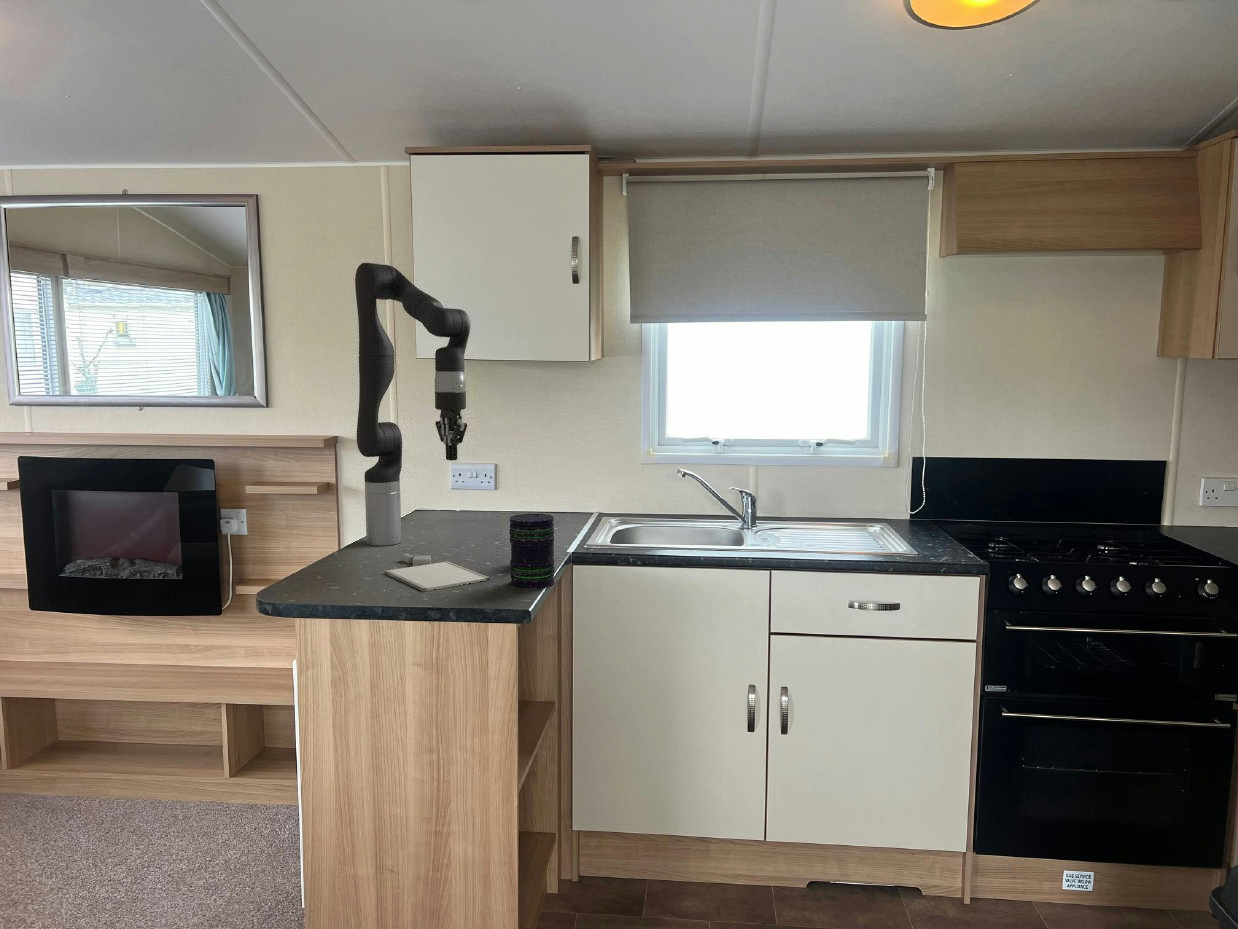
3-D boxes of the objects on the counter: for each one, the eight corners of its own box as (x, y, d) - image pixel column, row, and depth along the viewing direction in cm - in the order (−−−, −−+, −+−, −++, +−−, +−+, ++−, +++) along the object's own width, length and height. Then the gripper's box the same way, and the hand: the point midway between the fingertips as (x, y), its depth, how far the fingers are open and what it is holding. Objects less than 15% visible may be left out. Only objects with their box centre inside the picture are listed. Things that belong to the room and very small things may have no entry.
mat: (384, 573, 194) (384, 570, 194) (447, 564, 204) (447, 561, 204) (423, 591, 178) (423, 588, 178) (489, 580, 188) (489, 577, 188)
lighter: (430, 566, 202) (431, 559, 210) (430, 559, 202) (431, 552, 210) (400, 567, 201) (402, 560, 208) (400, 560, 201) (401, 553, 208)
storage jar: (542, 591, 178) (541, 522, 177) (501, 587, 182) (500, 519, 180) (562, 580, 188) (561, 515, 186) (523, 577, 191) (522, 512, 190)
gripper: (424, 390, 209) (426, 459, 211) (448, 390, 198) (450, 463, 200) (451, 389, 213) (453, 457, 215) (476, 390, 203) (478, 461, 205)
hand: (451, 460), depth 208 cm, fingers closed
